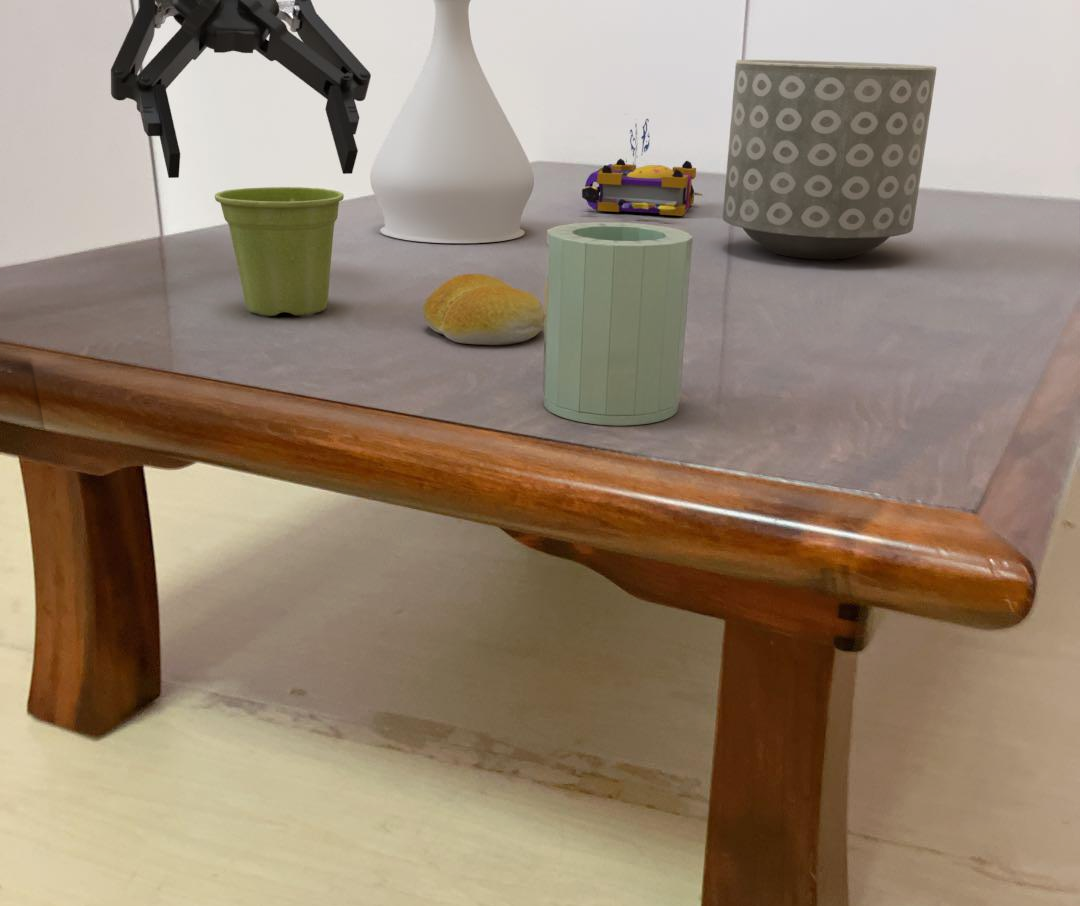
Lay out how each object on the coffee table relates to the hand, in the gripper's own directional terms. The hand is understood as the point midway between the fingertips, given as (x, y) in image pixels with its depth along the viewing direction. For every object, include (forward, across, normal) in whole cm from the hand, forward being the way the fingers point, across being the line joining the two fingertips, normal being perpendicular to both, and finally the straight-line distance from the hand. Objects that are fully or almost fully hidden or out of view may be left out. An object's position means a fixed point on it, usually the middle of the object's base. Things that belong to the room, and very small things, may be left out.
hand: (265, 164), depth 91 cm
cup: (+33, -12, +18) cm, 39 cm away
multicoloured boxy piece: (-20, -56, -35) cm, 69 cm away
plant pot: (+11, 0, -4) cm, 12 cm away
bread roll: (+19, -12, +4) cm, 23 cm away
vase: (-12, -26, -26) cm, 39 cm away
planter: (+4, -57, -11) cm, 58 cm away
